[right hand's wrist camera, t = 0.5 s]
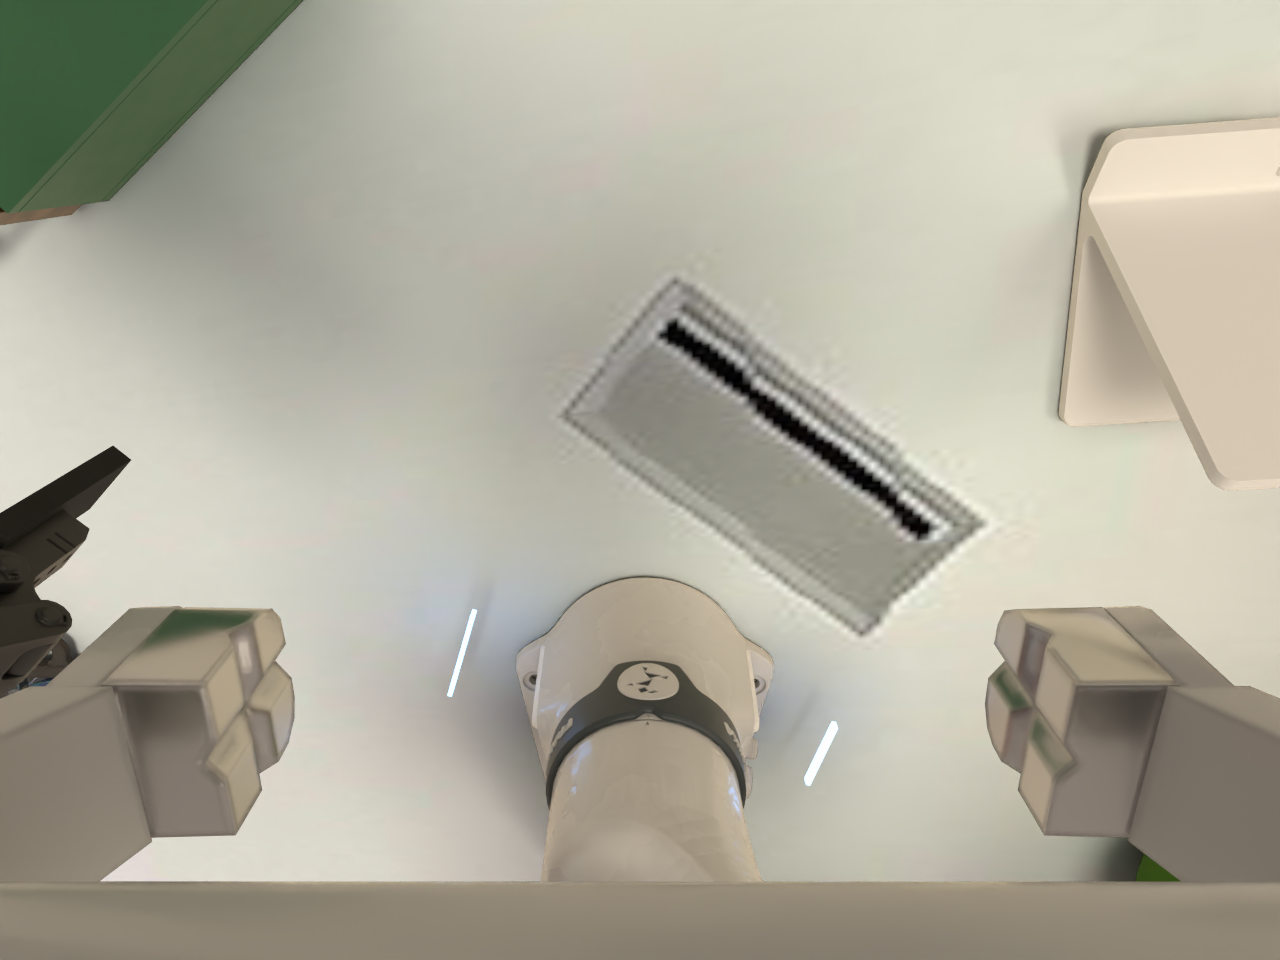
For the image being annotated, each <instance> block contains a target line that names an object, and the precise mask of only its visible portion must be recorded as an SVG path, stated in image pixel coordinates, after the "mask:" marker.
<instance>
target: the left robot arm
mask: <svg viewBox="0 0 1280 960" xmlns="http://www.w3.org/2000/svg"><path fill="white" fill-rule="evenodd" d="M130 461H131V459H129V458H128V457H127V456H126V455H124V454H123V453H122V452H120V451H119V450H118V449H117V448H115V447H114V446H112V447H110V448H108V449H107V450H105V451H103V452H102V453H100V454H98V455H97V456H95V457H93V458H92V459H90V460H88V461H87V462H85V463H83V464H82V465H80V466H78V467H77V468H75V469H73V470H71V471H70V472H68V473H66V474H65V475H63V476H61V477H60V478H58V479H56V480H55V481H53V482H51V483H50V484H48V485H46V486H45V487H43V488H41V489H40V490H38V491H36V492H35V493H33V494H31V495H30V496H28V497H26V498H25V499H23V500H21V501H20V502H18V503H16V504H15V505H13V506H11V507H10V508H8V509H6V510H5V511H3V512H1V513H0V689H2V688H6V687H10V686H14V685H17V684H19V683H21V682H23V680H24V679H25V678H26V677H27V676H28V675H29V674H30V672H31V671H32V670H34V668H35V667H36V666H37V665H38V664H39V663H40V662H41V661H42V659H43V658H44V657H45V656H46V655H47V654H48V653H49V652H50V650H51V649H52V648H53V647H54V646H55V645H56V644H57V643H58V641H59V640H60V639H61V638H62V636H63V635H64V634H65V633H66V632H67V631H68V630H69V628H70V627H71V625H72V618H71V616H70V613H69V612H68V611H67V610H66V609H65V608H64V607H63V606H61V605H60V604H58V603H56V602H52V601H49V600H41V599H40V598H39V597H38V595H37V594H36V592H35V589H34V588H35V587H36V586H38V585H39V584H40V583H42V582H43V581H44V580H46V579H47V578H48V577H50V576H51V575H52V574H54V573H55V572H56V571H58V570H59V569H60V568H62V567H63V565H64V564H65V563H66V562H67V561H68V560H69V558H70V557H71V556H72V555H73V554H74V553H75V552H76V550H77V549H78V548H79V547H80V546H81V545H82V543H83V542H84V541H85V540H86V537H87V534H88V532H89V528H88V527H86V526H85V525H84V524H82V523H81V522H79V521H78V520H77V519H76V518H77V517H79V516H80V515H82V514H83V513H85V512H86V511H87V510H89V509H90V508H91V507H92V506H93V504H94V503H95V502H96V501H97V500H98V498H99V497H100V496H101V495H102V494H103V493H104V491H105V490H106V489H107V488H108V487H109V486H110V484H111V483H112V482H113V481H114V480H115V478H116V477H117V476H118V475H119V474H120V473H121V471H122V470H123V469H124V468H125V467H126V465H127V464H128V463H129V462H130Z"/></svg>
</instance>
